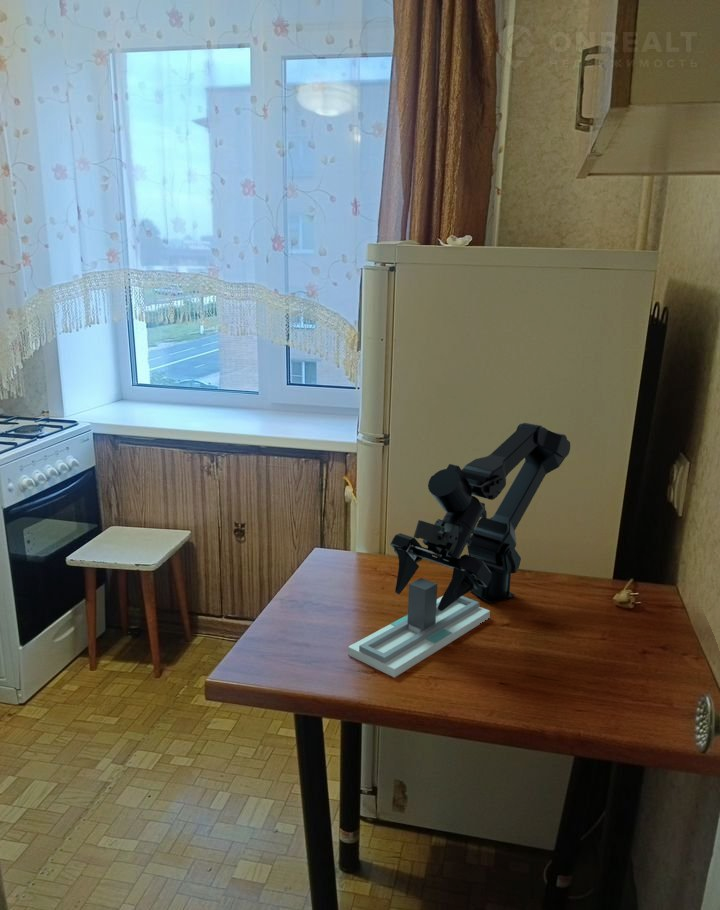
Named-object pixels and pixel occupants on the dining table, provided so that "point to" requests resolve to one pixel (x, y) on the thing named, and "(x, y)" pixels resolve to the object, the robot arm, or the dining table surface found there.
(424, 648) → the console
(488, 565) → the robot arm
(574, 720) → the dining table surface
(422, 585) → the fader
